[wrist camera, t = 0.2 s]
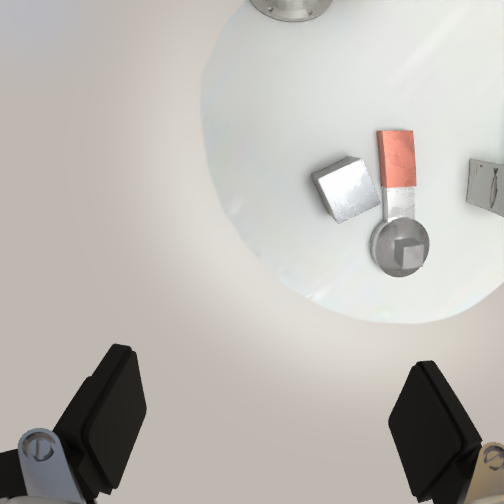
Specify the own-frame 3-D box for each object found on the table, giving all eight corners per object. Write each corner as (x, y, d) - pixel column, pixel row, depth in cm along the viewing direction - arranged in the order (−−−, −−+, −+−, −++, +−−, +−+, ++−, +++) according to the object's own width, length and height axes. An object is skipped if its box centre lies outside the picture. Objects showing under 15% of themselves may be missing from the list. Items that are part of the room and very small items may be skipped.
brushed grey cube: (310, 174, 43) (317, 179, 37) (349, 156, 41) (362, 158, 36) (329, 213, 44) (338, 224, 39) (366, 195, 43) (380, 203, 37)
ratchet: (419, 266, 46) (437, 282, 40) (369, 273, 47) (383, 291, 41) (417, 131, 39) (439, 130, 33) (363, 131, 40) (378, 130, 34)
